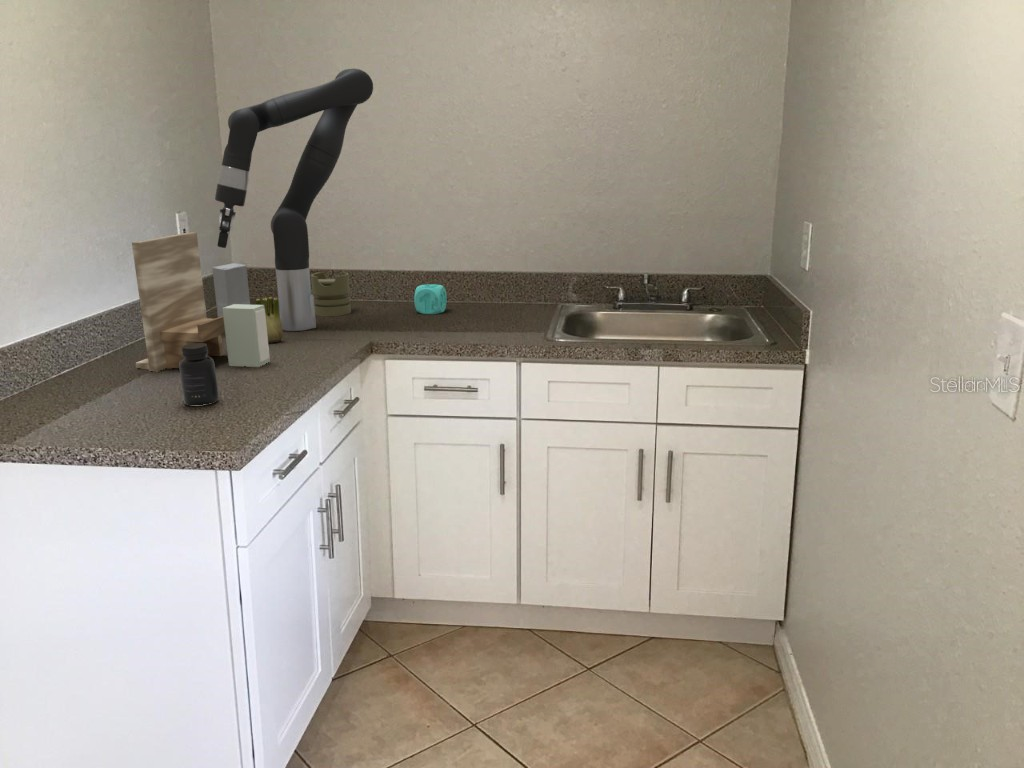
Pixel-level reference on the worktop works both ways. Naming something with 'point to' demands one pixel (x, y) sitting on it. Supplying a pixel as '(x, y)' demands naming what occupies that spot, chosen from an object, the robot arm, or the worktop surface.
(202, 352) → the supplement bottle
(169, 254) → the wooden display stand
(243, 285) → the skincare box
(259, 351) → the cabinet
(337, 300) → the piston
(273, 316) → the fennel bulb
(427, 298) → the decorative dice
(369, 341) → the worktop surface
